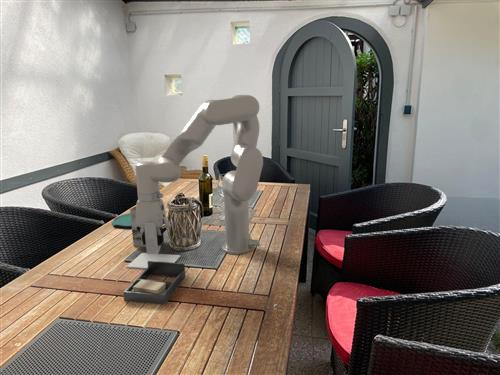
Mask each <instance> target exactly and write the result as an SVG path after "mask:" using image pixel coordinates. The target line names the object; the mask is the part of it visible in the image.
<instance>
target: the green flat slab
mask: <svg viewBox="0 0 500 375" xmlns="http://www.w3.org/2000/svg"><path fill="white" fill-rule="evenodd" d="M111 225H112V226H113V227H115V226H116V227H121V228H132V225H131V213H130V212H128V213H125V214H124V213H123V214H121V215H119V216H117V217H115V218H114V219H113V220H112V221H111ZM165 226H166V225H165V224H163V227H165Z"/></svg>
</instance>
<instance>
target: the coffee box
mask: <svg viewBox="0 0 500 375" xmlns="http://www.w3.org/2000/svg"><path fill="white" fill-rule="evenodd" d="M129 211H130V212H129V213H131V225H132V223H133V222H134V221H135V219H136V205H134V206H133V207H132V208H130V209H129ZM131 233H132V234H131V235H132V244H133V247H141V248H142V247H143V248H146V244H145V245H143V242H142V235H141V234H140V232H139V231H138V230H137V229H136V228H135V227H134V226H133V225H132V227H131Z"/></svg>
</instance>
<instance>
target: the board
mask: <svg viewBox="0 0 500 375" xmlns="http://www.w3.org/2000/svg"><path fill="white" fill-rule="evenodd" d="M180 258H181V254H180V255H179V254H168V253H167V254H166V253H158V254H147V252H141V253H140V254H139V255H138V256H137V257H135V258H134V259H133V260H132V261H131V262H130V263H129V264H128V265H126V268H127V269H137V270H138V269H139V270H146V269H147V268H148V263H147V262H148V261H155V262H169V263H175V262H176V263H177V262H178V260H179V259H180Z"/></svg>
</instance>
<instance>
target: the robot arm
mask: <svg viewBox="0 0 500 375" xmlns="http://www.w3.org/2000/svg"><path fill="white" fill-rule="evenodd" d="M259 113H260V103H259V101H258V99H257V98H256V97H254V96H252V95H250V94H238V95H234V96H232V97H231V98H230V97H229V98H224V99H223V98H222V99H208V100H205V101H204V102H202V104H201V105H200V106H199V107H198V109H197V110H196V111H195V113H194V114H193V116H192V117H191V119H190V120H189V121H188V123H186V125H185V127H183V129H182V131H180V133H179V134H178V135H177V136H176V138H175V139H173V141H172V142H170V144H169V145H168V146H167V148H166V149H165V151H164V152H163V154H162V155H161V156H160V158H158V160H157V162H154V161H141V162H138V163H136V165H135V167H134V168H135V178H136V189H137V191H136V192H137V201H136V205H135V206H136V219H135V221H134V222H133V223H132V225H133V226H134V227H135V228H136V229H137V230H138V231H139V232H140V234H141V235H142V242H143V245H145V244H146V240H145V229H144V223H145V222H147V223H156V228H157V232H158V236H157V240H158V246H160V245H161V246H162V244H163V243H164V240H165V238H164V233H165V232H166V231H167V230H169V229H170V227H172V225H171V224H170V222H169V219H168V220H167V218H168V217H167V212H166V207H165V203H164V200H163V198H164V193H161V190H160V183H174V182H177V181H178V180H179V178H181V175H182V169H181V167H180V165H181V163H182V162H183V161H184V159H186V157H187V156H188V155H189V154H190V153H192V152H193V151H195V150H197V149H199V148H200V147H201V146H202V145H204V143H205V141H206V140H207V138H209V136H210V134H211V133H212V132H213V130H215V128H216V127H217V126H224V125H230V124H236V134H235V136H234V137H235V138H234V142H233V146H232V149H231V153H230V160H231V163H232V164H233V166H235V167H236V169H235V170H231V171H228V172H227V173H225V174H224V176H223V178H222V182H221V190H222V195H223V196H222V197H223V205H224V209H223V210H224V212H223V213H224V234H225V235H224V236H225V238H224V239H225V241H224V242H223V243H222V245H221V250H222V251H223V252H225V253H227V254H231V255H241V254H243V255H244V254H247V253H249V252H251V251H253V249H254V247H260V246H261V245H260V244H261V242H260V240H258V239H252V238H251V237H252V236H251V235H250V224H249V218H250V216H249V210H250V209H249V201H250V200H251V199H253V197H254V196H255V194H256V193H257V189H258V187H259V186H258V185H259V181H260V178H261V174H262V170H263V166H264V157H263V154H262V152H261V150H260V149H259V148H257V147H258V146H257V145H258V140H259V137H260V121H259V119H258V115H259ZM164 225H165V226H164Z"/></svg>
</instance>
